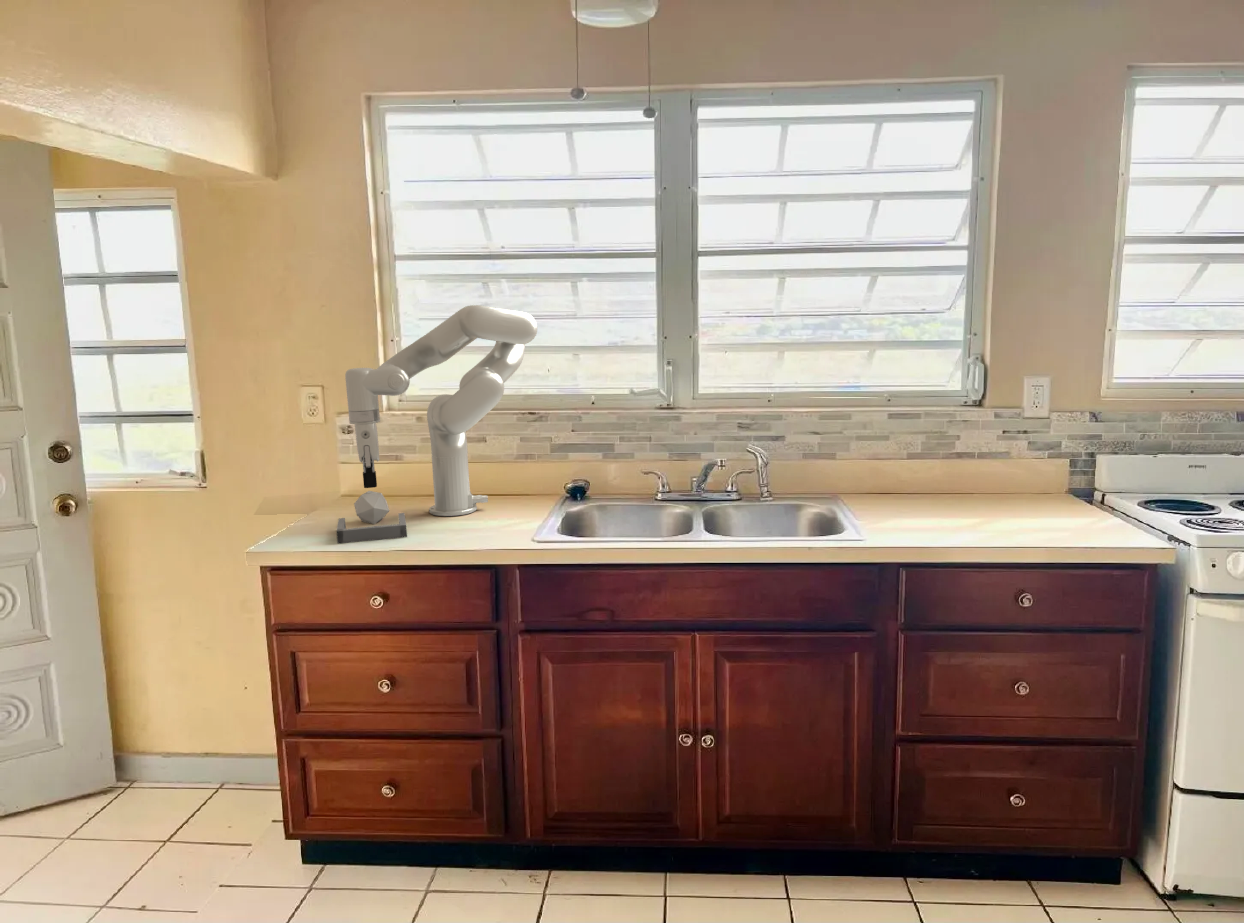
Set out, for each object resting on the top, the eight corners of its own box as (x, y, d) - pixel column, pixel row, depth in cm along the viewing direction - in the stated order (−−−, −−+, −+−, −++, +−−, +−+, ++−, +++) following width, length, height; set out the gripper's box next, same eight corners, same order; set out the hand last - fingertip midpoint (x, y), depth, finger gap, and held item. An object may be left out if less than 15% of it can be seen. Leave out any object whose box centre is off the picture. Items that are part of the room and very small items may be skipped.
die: (397, 523, 219) (391, 490, 223) (378, 514, 211) (373, 480, 215) (369, 533, 220) (364, 500, 224) (350, 525, 213) (345, 491, 216)
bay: (405, 524, 215) (404, 512, 214) (407, 536, 202) (406, 524, 202) (339, 530, 210) (338, 518, 210) (337, 543, 198) (336, 531, 198)
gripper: (379, 419, 207) (385, 491, 211) (379, 412, 221) (385, 480, 225) (348, 421, 205) (354, 494, 209) (349, 414, 219) (356, 482, 223)
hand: (370, 486), depth 217 cm, fingers closed
